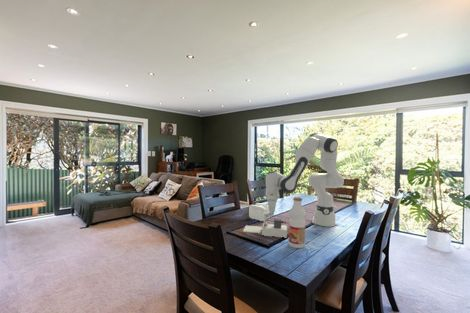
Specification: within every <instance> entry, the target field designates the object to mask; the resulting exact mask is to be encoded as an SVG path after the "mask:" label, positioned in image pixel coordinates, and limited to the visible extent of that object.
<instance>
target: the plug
mask: <svg viewBox="0 0 470 313" xmlns="http://www.w3.org/2000/svg"><path fill="white" fill-rule="evenodd" d="M273 224H274V228H281V225H282V224H287V222H286V221H284V220H282V218H276V217H275V218H273Z"/></svg>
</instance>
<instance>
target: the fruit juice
mask: <svg viewBox="0 0 470 313" xmlns="http://www.w3.org/2000/svg"><path fill="white" fill-rule="evenodd" d="M292 200H293V204H292V206H291V208H290V209H289V212H288V213H289V219H288V241H287V242H288V245H289V247H291V248H295V249H303V248H305V245H306V220H305V217H306V211H305V209H304V207H303V204H302V201H303V198H302V197H296V196H295V197H293V199H292Z"/></svg>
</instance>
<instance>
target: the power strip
mask: <svg viewBox="0 0 470 313" xmlns="http://www.w3.org/2000/svg"><path fill="white" fill-rule="evenodd" d="M261 227H262V231H261V236H262V235H264V236H263V237H272V236H275V238H282V237H284V239H287V238H288V226H287V225H283V224H281V228H274V223H273V224H270V223H267V226H264V223H262V226H261Z"/></svg>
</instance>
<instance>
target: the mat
mask: <svg viewBox="0 0 470 313" xmlns="http://www.w3.org/2000/svg"><path fill="white" fill-rule="evenodd" d="M261 230H262V226H256V225H247V224H246V225H245V226H244V228H243V229H242V233H245V232H246V234H255V233H258V234H259V235H262V231H261ZM258 234H257V235H258Z"/></svg>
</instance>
